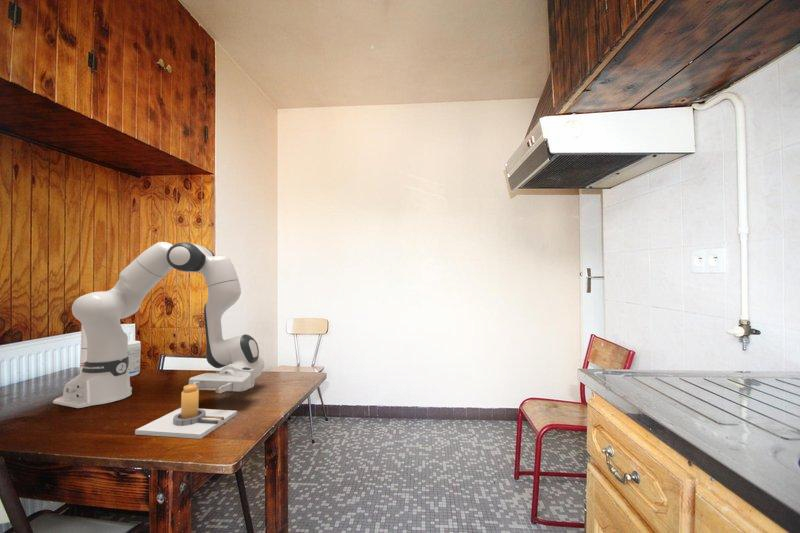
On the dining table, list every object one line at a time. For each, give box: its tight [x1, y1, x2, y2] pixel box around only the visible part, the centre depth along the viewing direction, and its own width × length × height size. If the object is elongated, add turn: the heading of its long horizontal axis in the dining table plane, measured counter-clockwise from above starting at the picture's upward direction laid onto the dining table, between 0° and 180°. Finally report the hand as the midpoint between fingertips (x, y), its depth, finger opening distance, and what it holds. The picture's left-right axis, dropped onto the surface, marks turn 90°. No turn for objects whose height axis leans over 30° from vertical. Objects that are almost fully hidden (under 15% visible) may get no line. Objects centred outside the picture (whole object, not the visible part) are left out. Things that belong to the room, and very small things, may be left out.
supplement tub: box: [127, 340, 142, 378], centre depth 147 cm, size 10×10×15 cm
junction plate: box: [134, 407, 238, 440], centre depth 98 cm, size 20×16×3 cm
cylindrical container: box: [79, 324, 87, 374], centre depth 147 cm, size 7×7×25 cm
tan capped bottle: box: [180, 384, 200, 419], centre depth 98 cm, size 4×4×10 cm
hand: (204, 390), depth 104 cm, fingers open, 8 cm apart
